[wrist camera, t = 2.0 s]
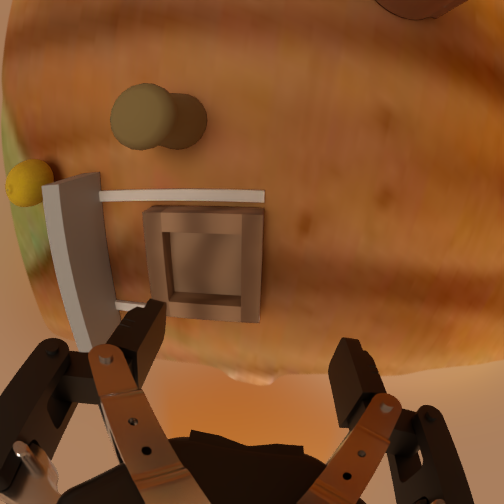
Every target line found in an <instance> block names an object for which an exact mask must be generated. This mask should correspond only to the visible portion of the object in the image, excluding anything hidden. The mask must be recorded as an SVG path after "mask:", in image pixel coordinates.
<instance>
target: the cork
mask: <svg viewBox="0 0 504 504" xmlns="http://www.w3.org/2000/svg"><path fill="white" fill-rule="evenodd" d="M110 122H111V129H112V131H113V134H114V136H115V138H116V139H117V140H118V141H119V142H120V143H121V144H123V145H125V146H127V147H129V148H131V149H135V150H146V149H150V148H154V147H156V146H158V145H159V146H163V147H166V148H170V149H177V150H179V149H184V148H188V147H190V146H192V145H194V144H195V143H196V142H197V141H198V140H199V139H200V138H201V137H202V135H203V133H204V131H205V129H206V124H207V115H206V111H205V109H204V106H203V104H202V103H201V102H200V101H199V100H198V99H197V98H195V97H193V96H191V95H188V94H176V93H169V92H168V91H167V90H166V89H164V88H162V87H160V86H157V85H155V84H148V83H143V84H139V85H135V86H132V87H130V88H128V89H127V90H125V91H124V92H122V94H121V95H120V96H119V97H118V98H117V99H116V101H115V103H114V105H113V108H112V111H111V117H110Z"/></svg>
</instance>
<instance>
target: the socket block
mask: <svg viewBox="0 0 504 504" xmlns="http://www.w3.org/2000/svg"><path fill="white" fill-rule="evenodd" d="M142 214H143V227H144V238H145V248H146V257H147V266H148V274H149V282H150V289H151V296H152V299H155V300H158V301H162V302H166V303H167V310H166V316H169V317H179V318H190V319H202V320H215V321H229V322H246V323H259V317H260V298H261V274H262V249H263V223H264V208H254V207H221V206H152V207H150V208H148V209H147V210H145V211H144V212H142Z"/></svg>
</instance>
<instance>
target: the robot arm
mask: <svg viewBox="0 0 504 504" xmlns="http://www.w3.org/2000/svg"><path fill="white" fill-rule="evenodd" d="M376 1H377V2H378V3H379V4H380V5H382V6H383V7H384V8H385V9H387V10H389V11H390V12H392V13H393V14H396V15H398V16H400V17H403V18H407V19H413V20H419V19H424V18H427V17H433V18H438V17H440V16H441V15H443V14H445V13H446V12H448V11H450V10H452V9H453V8H455V7H457V6H459V5H460V4H462V3H464V2H466V1H468V0H376ZM166 310H167V303H166V302H162V301H158V300H155V299H149V301H148V302H147V304H146V305H145V307H144V308H142V307H138V306H137V307H135V308H133V309H131V310H130V311H128V312H127V314H126V315H125V317H124V319H122V321H121V322H120V324H119V325H118V326H117V328H116V329H115V331H114V332H113V333H112V335H111V336H110V338H109V339H108V341H107V342H106V344H100V345H97V346H95V347H93V348H92V349H91V350H90V351H89V352H75V351H69V347H68V345H67V343H66V342H64V341H63V340H61V339H57V338H49V339H46V340H44V341H42V342H41V343H39V345H38V346H37V347H36V348H35V350H34V351H33V352H32V354H31V355H30V356H29V357H28V359H27V360H26V361H25V363H24V364H23V365H22V366H21V368H20V369H19V370H18V372H17V373H16V375H15V376H14V377H13V379H12V380H11V381H10V383H9V384H8V386H7V387H6V389H5V390H4V391H3V393H2V394H1V396H0V500H1V501H3V502H5V503H6V504H366V503H365V502H364V501H363V500H362V499H361V498H360V496H361V494H362V493H363V491H364V490H365V488H366V486H367V485H368V483H369V481H370V479H371V478H372V476H373V474H374V473H375V471H376V469H377V467H378V465H379V463H380V462H381V460H382V458H383V456H384V454H385V453H387V456H388V461H389V466H390V471H391V476H392V481H393V486H394V491H395V497H396V503H397V504H474V501H473V498H472V494H471V491H470V488H469V485H468V482H467V479H466V476H465V473H464V470H463V467H462V464H461V461H460V459H459V456H458V453H457V450H456V448H455V445H454V443H453V440H452V437H451V435H450V432H449V430H448V427H447V425H446V423H445V420H444V418H443V415H442V414H441V413H440V411H439V410H438V409H436V408H435V407H433V406H430V405H423V406H421V407H420V408H419V409H418V411H417V412H413V411H410V410H405V409H402V406H401V404H400V402H399V401H398V400H397V399H396V398H395V397H394V396H392V395H390V394H387V393H386V390H385V387H384V385H383V382H382V380H381V377H380V375H379V374H378V370H377V368H376V365H375V362H374V360H373V358H372V357H371V356H370V355H369V353H368V352H367V351H363V349H362V347H361V344H360V342H359V340H358V339H352V338H344V337H343V338H341V340H340V342H339V344H338V346H337V348H336V351H335V353H334V355H333V357H332V359H331V361H330V364H329V369H328V375H329V379H330V384H331V389H332V393H333V398H334V403H335V408H336V413H337V417H338V423H339V427H340V428H349V431H350V432H349V433H348V434H347V436H346V437H345V438H344V440H343V441H342V443H341V444H340V445H339V447H338V448H337V449H336V451H335V452H334V454H333V455H332V456H331V457H330V459H329V460H328V461H327V463H326V464H324V463H323V462H321V461H319V460H318V459H316V458H314V457H312V456H309V455H307V454H304V450H303V446H296V445H284V444H269V445H258V446H246V445H243V444H240V443H237V442H235V441H232V440H229V439H227V438H224V437H222V436H219V435H214V434H209V433H204V432H199V431H195V430H191V432H190V437H179V438H172V439H167V437H166V435H165V434H164V432H163V430H162V428H161V426H160V424H159V422H158V420H157V418H156V416H155V415H154V412H153V410H152V408H151V407H150V404H149V402H148V400H147V398H146V396H145V394H144V392H143V390H142V389H141V388H142V385H143V383H144V381H145V379H146V376H147V374H148V372H149V370H150V368H151V366H152V363H153V361H154V359H155V357H156V355H157V353H158V351H159V349H160V346H161V344H162V342H163V339H164V335H165V325H166ZM78 403H87V404H98V406H99V409H100V412H101V415H102V418H103V421H104V424H105V427H106V430H107V433H108V435H109V438H110V441H111V443H112V447H113V449H114V452H115V455H116V457H117V459H118V462H119V465H118V466H116V467H114V468H112V469H110V470H108V471H106V472H104V473H102V474H100V475H98V476H96V477H94V478H92V479H90V480H88V481H85V482H83V483H81V484H79V485H77V486H75V487H72V488H70V489H69V490H67V491H66V492H64V493H63V494H62V495H60V494H59V492H58V489H57V483H58V472H57V470H56V468H55V466H54V465H53V463H52V462H51V460H52V457H53V455H54V452H55V451H56V448H57V446H58V444H59V442H60V440H61V438H62V435H63V433H64V431H65V429H66V427H67V425H68V423H69V421H70V418H71V417H72V415H73V412H74V410H75V408H76V406H77V404H78ZM419 450H421V454H422V457H423V465H421V462H420V458H419V455H418V451H419Z"/></svg>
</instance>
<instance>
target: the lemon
mask: <svg viewBox="0 0 504 504" xmlns="http://www.w3.org/2000/svg"><path fill="white" fill-rule="evenodd" d="M53 182H54V176H53V172H52V170H51V168H50V166H49V165H48V164H47V163H45V162H44V161H42V160H39V159H29V160H26V161H23V162H21V163H19V164H18V165H16V166H15V167H14V168H13V169H12V170H11V171H10V173H9V174H8V176H7V179H6V185H5V189H6V193H7V196H8V198H9V200H10V201H11V202H12V203H13V204H15V205H17V206H20V207H29V206H34V205H36V204H38V203H40V202H42V201H43V195H42V186H43V185H46V184H49V183H53Z"/></svg>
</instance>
